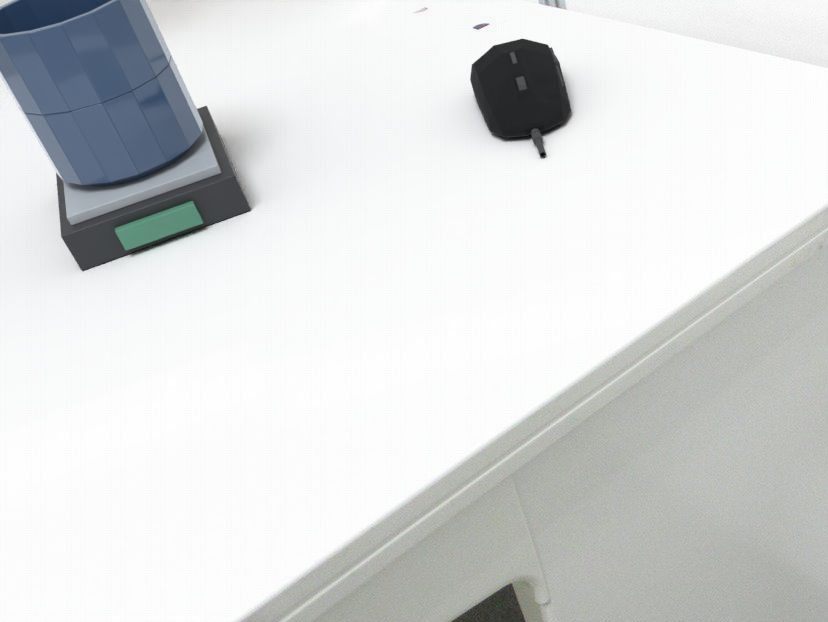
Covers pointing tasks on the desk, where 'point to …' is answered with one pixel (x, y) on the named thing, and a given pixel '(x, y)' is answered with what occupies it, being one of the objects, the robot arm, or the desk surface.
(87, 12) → the blue faceted tumbler
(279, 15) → the desk surface
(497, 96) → the gaming mouse
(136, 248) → the scale
